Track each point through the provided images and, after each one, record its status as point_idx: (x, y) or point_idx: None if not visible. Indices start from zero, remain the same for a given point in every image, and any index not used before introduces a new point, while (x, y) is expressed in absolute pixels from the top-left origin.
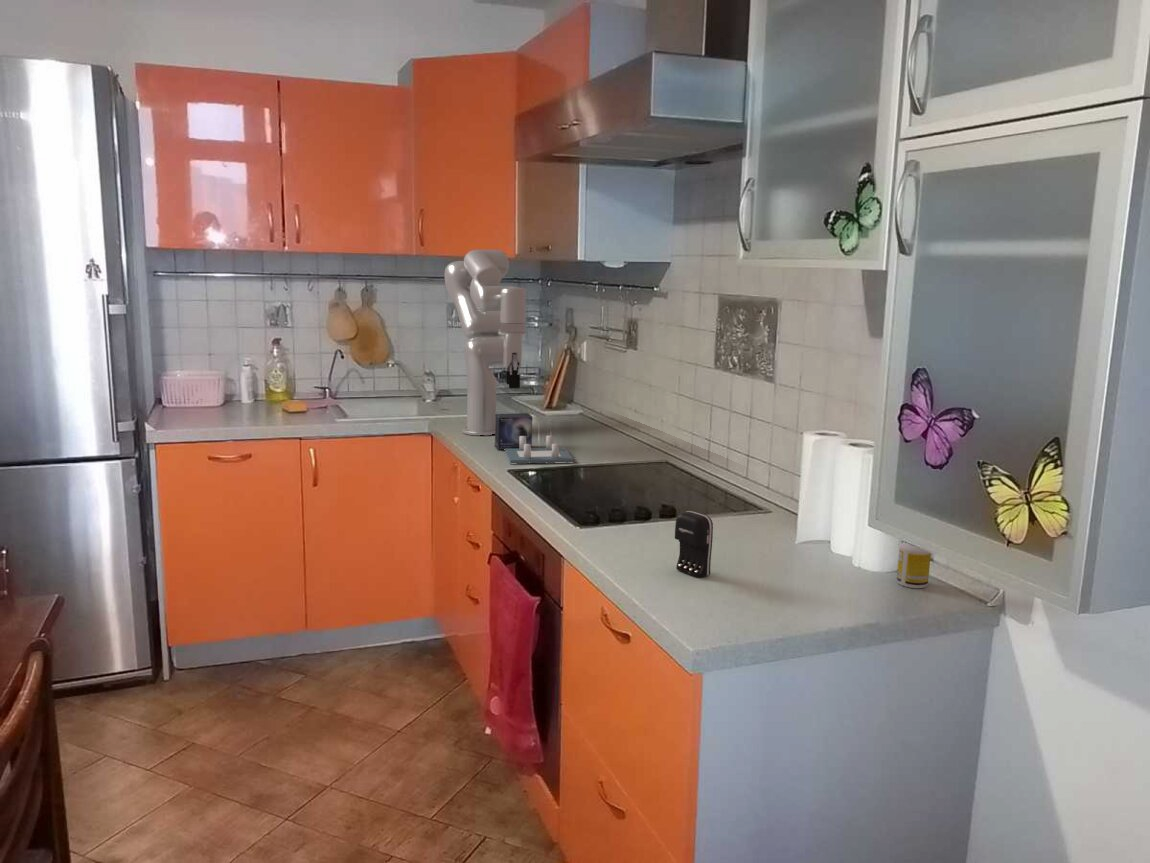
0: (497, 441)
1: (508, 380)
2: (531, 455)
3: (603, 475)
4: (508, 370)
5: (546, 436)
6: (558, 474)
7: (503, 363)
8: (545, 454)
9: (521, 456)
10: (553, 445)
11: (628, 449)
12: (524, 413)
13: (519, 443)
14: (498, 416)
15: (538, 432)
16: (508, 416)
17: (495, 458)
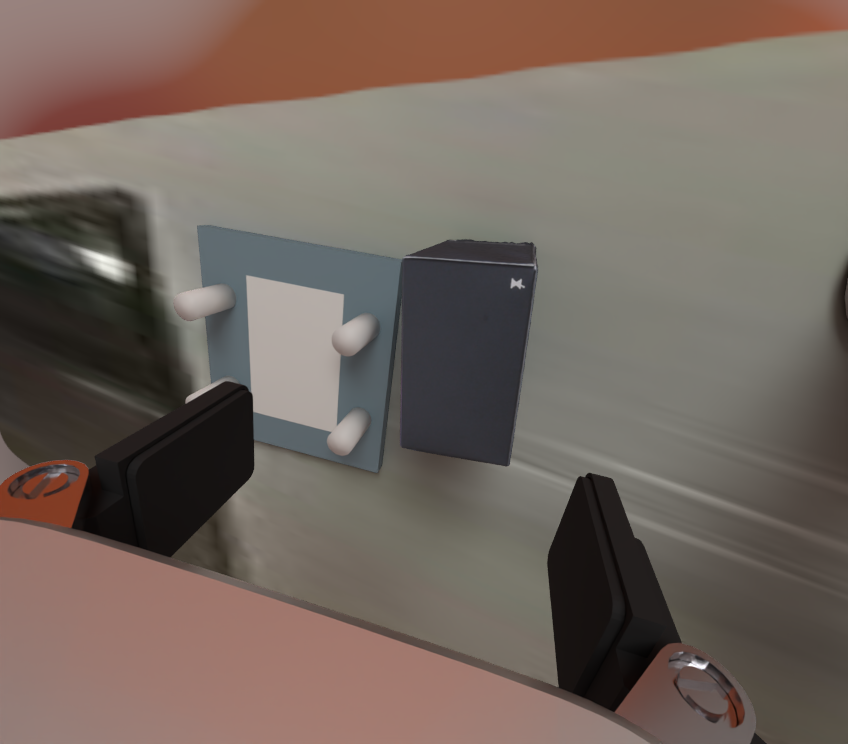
0: (461, 243)
1: (580, 514)
2: (267, 325)
3: (105, 436)
4: (649, 662)
5: (337, 432)
6: (100, 335)
7: (395, 698)
8: (279, 376)
9: (252, 284)
10: (188, 396)
11: (383, 619)
12: (490, 441)
13: (356, 319)
14: (433, 260)
15: (792, 527)
16: (418, 323)
17: (307, 190)
